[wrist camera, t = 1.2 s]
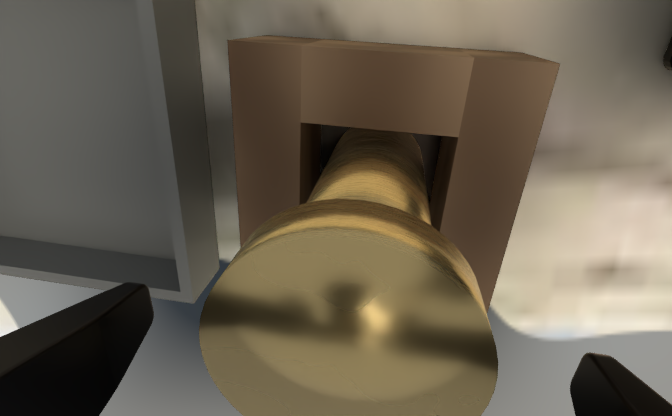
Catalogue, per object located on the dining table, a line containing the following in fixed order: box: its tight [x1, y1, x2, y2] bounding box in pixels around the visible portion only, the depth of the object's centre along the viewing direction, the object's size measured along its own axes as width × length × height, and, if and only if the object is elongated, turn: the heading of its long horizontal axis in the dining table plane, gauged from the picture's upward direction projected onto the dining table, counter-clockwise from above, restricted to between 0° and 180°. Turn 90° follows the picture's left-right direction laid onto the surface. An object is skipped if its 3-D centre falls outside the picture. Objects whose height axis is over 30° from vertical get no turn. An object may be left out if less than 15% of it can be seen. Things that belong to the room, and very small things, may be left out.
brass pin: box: [199, 127, 498, 416], centre depth 12 cm, size 6×6×12 cm
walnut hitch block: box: [228, 35, 560, 313], centre depth 16 cm, size 10×10×4 cm
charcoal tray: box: [0, 0, 220, 304], centre depth 18 cm, size 14×14×3 cm
